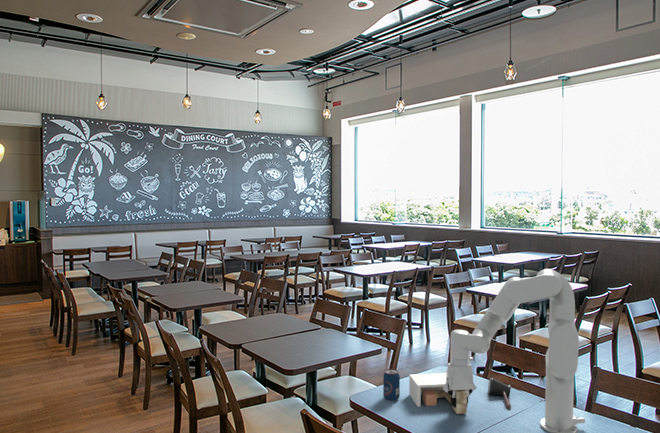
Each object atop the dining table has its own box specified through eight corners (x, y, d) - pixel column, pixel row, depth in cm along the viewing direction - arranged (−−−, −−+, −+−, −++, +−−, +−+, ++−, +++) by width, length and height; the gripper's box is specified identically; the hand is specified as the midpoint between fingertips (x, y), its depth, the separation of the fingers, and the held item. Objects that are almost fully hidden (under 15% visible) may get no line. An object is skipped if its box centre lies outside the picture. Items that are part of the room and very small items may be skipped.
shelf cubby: (453, 392, 213) (454, 372, 213) (464, 404, 202) (465, 383, 201) (409, 394, 211) (409, 374, 210) (417, 406, 199) (417, 385, 198)
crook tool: (450, 395, 209) (450, 375, 209) (466, 413, 192) (466, 391, 192) (434, 396, 208) (434, 375, 208) (449, 414, 191) (449, 392, 191)
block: (433, 400, 205) (433, 390, 205) (436, 405, 201) (436, 394, 200) (422, 401, 205) (422, 390, 204) (426, 405, 200) (426, 395, 200)
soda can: (379, 398, 207) (380, 371, 206) (390, 393, 212) (390, 367, 211) (392, 403, 202) (392, 375, 201) (402, 399, 206) (403, 371, 206)
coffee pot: (487, 388, 216) (507, 393, 214) (488, 411, 199) (510, 416, 197) (490, 373, 215) (510, 378, 213) (491, 395, 198) (513, 400, 196)
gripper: (475, 357, 198) (475, 400, 199) (436, 359, 196) (436, 403, 197) (483, 363, 191) (483, 408, 191) (443, 365, 188) (442, 411, 189)
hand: (459, 405), depth 194 cm, fingers closed on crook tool, 4 cm apart
